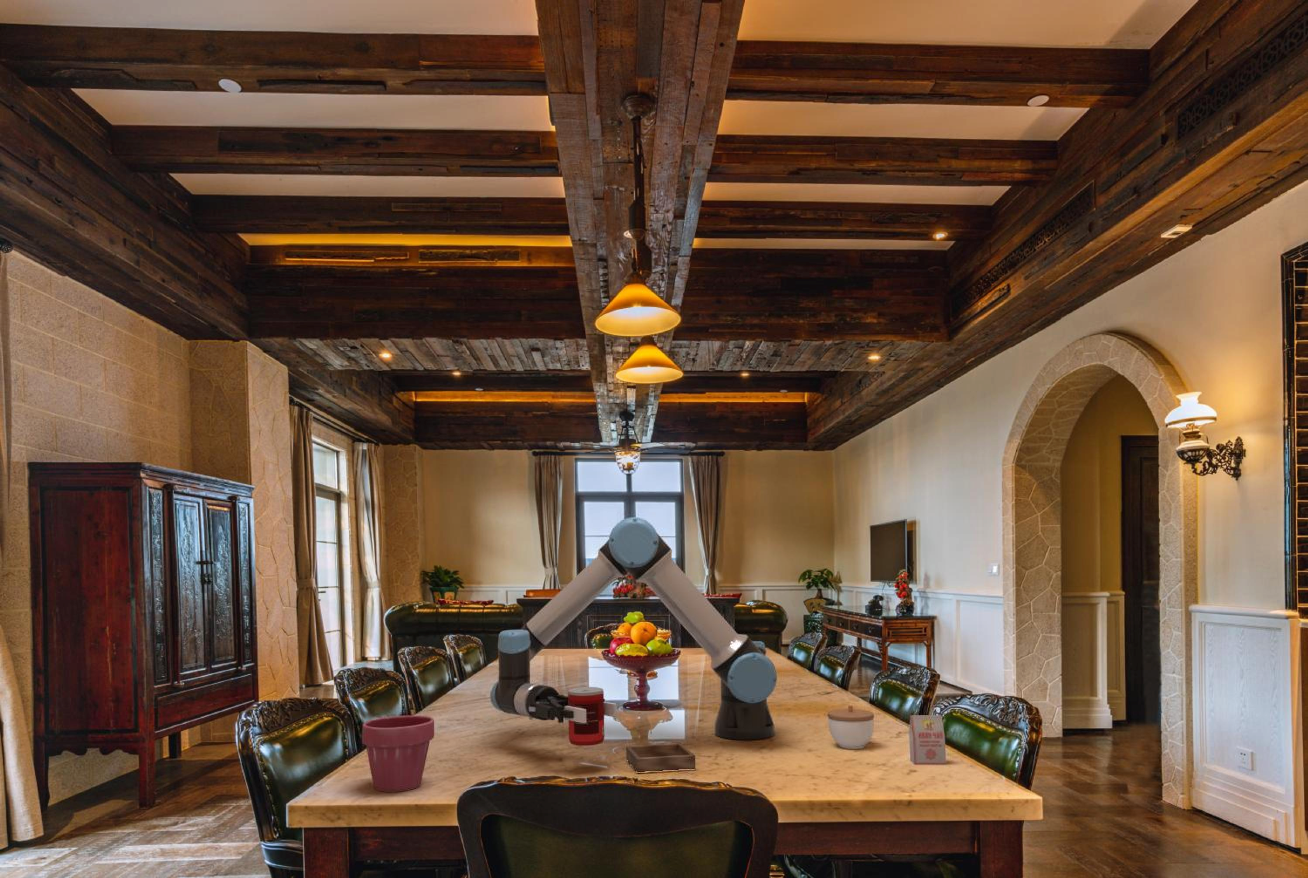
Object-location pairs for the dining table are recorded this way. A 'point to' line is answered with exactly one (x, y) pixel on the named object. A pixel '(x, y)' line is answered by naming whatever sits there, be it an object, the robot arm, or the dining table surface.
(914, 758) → the white tea box
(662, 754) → the walnut tray
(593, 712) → the canned food
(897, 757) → the dining table surface
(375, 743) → the plant pot
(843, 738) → the lidded jar
